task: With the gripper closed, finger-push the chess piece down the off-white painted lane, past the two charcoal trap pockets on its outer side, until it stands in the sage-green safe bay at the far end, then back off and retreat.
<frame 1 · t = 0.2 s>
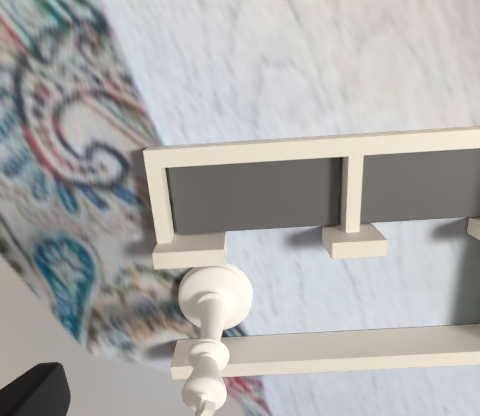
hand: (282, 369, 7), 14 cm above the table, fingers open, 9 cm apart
chess piece: (215, 292, 23), on the table
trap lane: (336, 287, 23), on the table
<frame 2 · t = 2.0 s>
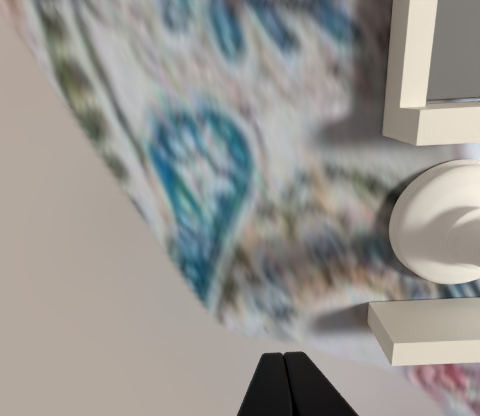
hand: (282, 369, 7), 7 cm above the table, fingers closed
chess piece: (448, 219, 14), on the table
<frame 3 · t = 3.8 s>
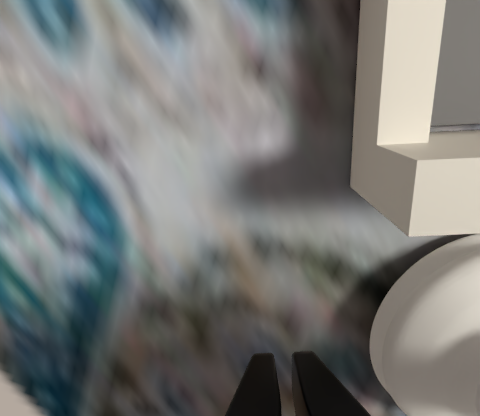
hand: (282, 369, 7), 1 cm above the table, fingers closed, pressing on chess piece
chess piece: (469, 324, 8), on the table, touching gripper
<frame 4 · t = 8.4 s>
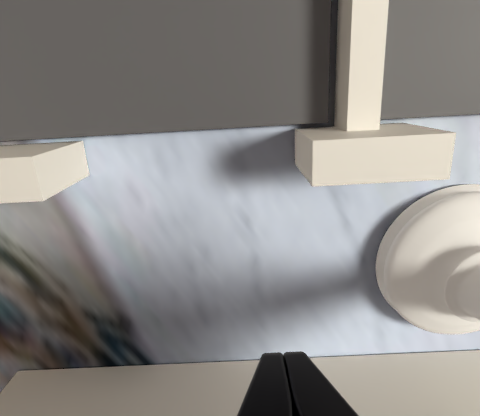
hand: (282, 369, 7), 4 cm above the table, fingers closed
chess piece: (449, 255, 11), on the table
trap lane: (326, 269, 11), on the table
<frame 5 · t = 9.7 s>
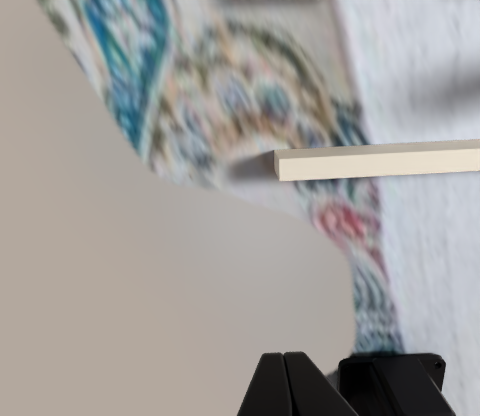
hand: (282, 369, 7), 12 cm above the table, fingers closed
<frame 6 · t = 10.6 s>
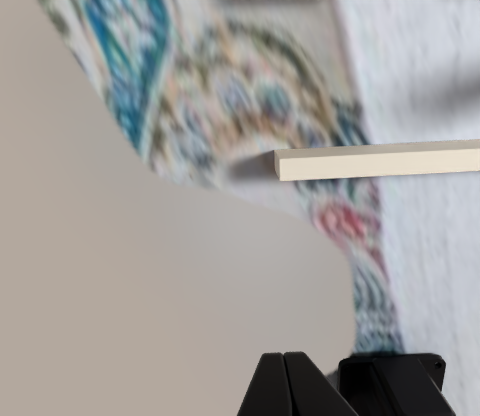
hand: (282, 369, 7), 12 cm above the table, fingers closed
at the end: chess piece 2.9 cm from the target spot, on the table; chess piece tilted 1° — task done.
